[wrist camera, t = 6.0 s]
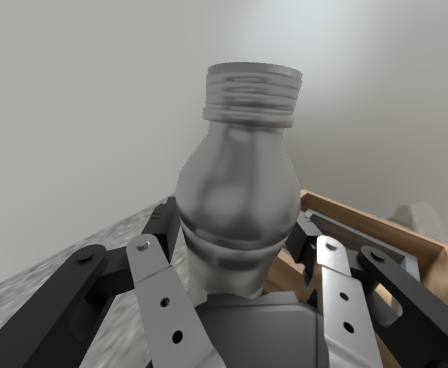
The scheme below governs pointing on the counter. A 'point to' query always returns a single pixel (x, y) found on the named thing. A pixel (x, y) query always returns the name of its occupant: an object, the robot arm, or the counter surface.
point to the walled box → (374, 237)
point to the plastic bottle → (240, 180)
